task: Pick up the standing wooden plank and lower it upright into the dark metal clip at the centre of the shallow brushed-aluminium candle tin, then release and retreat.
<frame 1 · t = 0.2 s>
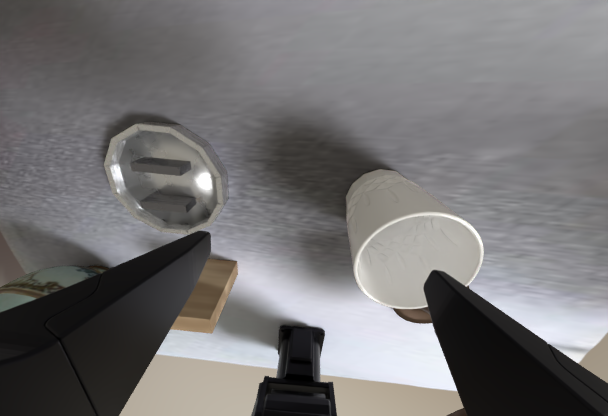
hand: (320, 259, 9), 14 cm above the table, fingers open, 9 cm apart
wooden plank: (221, 266, 28), on the table
white cup: (377, 199, 24), on the table
tin: (174, 179, 23), on the table
bowl: (107, 281, 31), on the table
candlestick: (426, 292, 29), on the table
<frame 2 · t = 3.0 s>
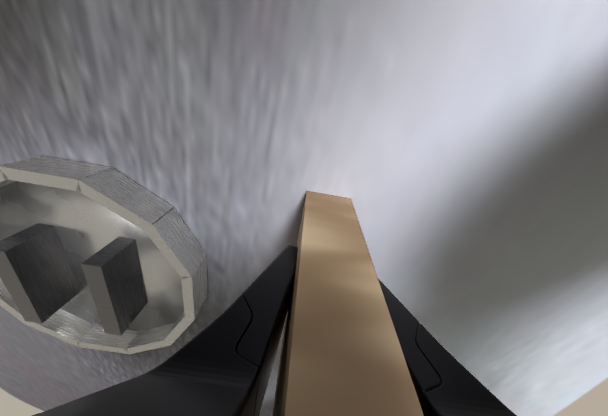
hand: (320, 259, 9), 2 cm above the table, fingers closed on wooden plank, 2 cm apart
wooden plank: (319, 232, 11), on the table, touching gripper
tin: (105, 260, 12), on the table
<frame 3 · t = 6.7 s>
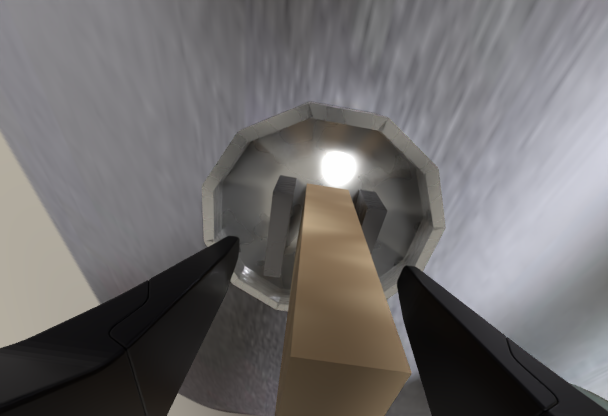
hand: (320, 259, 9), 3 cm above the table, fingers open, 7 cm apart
wooden plank: (320, 222, 12), resting on tin
tin: (319, 218, 12), on the table
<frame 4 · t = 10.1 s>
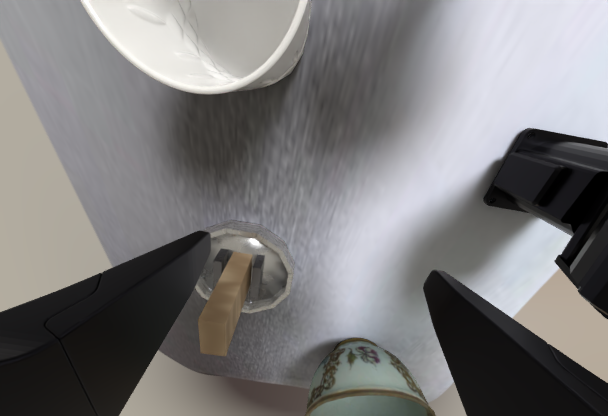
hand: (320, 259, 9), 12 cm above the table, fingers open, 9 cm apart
wooden plank: (242, 267, 25), resting on tin
white cup: (258, 31, 16), on the table
tin: (243, 265, 25), on the table
bowl: (356, 350, 31), on the table
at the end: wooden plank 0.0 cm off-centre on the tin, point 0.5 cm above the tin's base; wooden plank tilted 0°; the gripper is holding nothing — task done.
